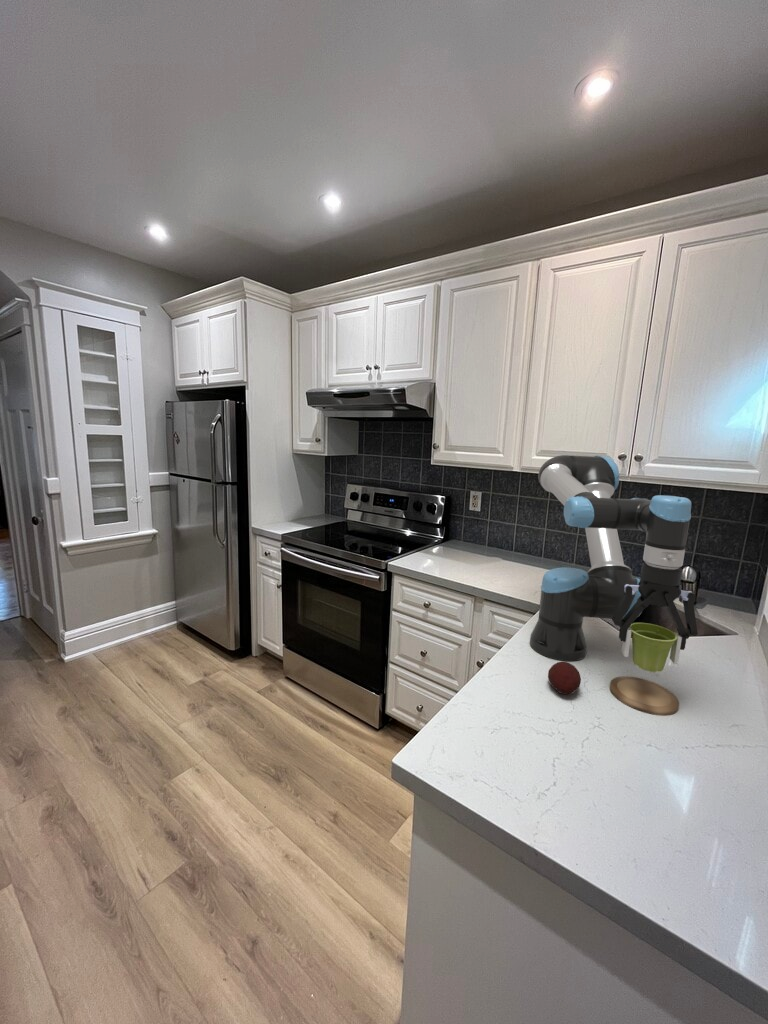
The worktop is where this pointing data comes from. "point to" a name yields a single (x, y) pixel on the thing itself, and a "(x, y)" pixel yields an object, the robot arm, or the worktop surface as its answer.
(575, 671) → the potato
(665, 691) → the plate
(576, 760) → the worktop surface
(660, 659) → the plant pot
